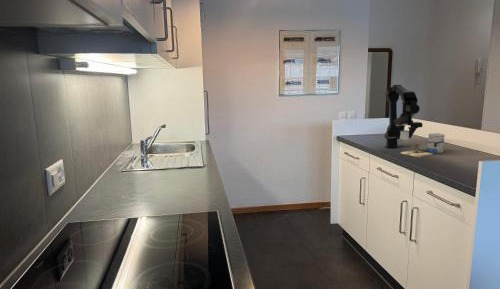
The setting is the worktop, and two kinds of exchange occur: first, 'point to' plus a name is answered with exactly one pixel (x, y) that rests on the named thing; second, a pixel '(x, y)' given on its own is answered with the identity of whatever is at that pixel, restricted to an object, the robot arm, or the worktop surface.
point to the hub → (404, 135)
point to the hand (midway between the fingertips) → (405, 137)
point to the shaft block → (416, 152)
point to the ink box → (435, 143)
